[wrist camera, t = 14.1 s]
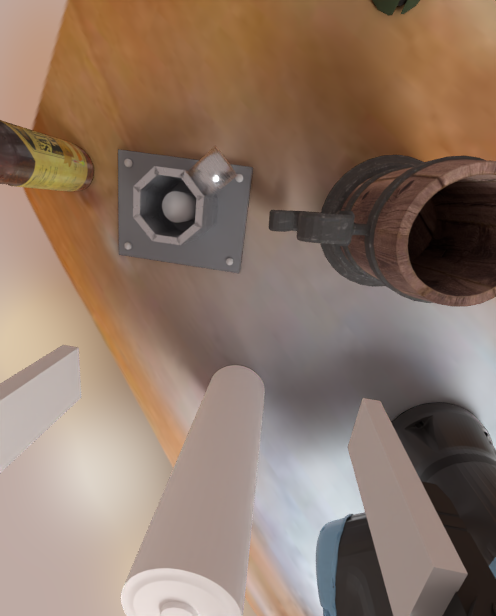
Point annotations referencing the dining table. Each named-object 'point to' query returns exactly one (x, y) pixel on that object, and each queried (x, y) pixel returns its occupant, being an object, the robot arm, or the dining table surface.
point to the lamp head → (202, 183)
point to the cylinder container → (204, 510)
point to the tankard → (409, 227)
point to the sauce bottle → (41, 161)
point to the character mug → (394, 5)
